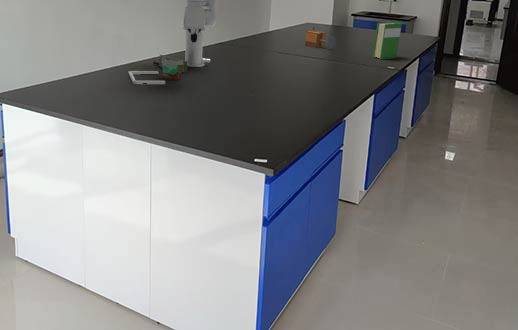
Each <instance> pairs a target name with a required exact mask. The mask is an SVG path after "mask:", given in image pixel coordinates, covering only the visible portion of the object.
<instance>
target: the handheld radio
mask: <svg viewBox="0 0 518 330" xmlns="http://www.w3.org/2000/svg"><path fill="white" fill-rule="evenodd" d="M163 57H165V59H168V60H175V61H182V62H183V65H182V70H181V73H182V72H188V71H187V70H188V66H187V61H185V59H184V60H183V59H181V58H176V57H172V56H168V55H164V54H159V59H158V61H153V62H152V64H153V65H157V66H158V67H159V66H160V67H159V68H163V64H162V63H161V60H162V58H163Z"/></svg>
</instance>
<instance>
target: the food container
mask: <svg viewBox="0 0 518 330" xmlns="http://www.w3.org/2000/svg"><path fill="white" fill-rule="evenodd" d="M161 63H162V64H163V67H162V75H163V79H164V78H165V79H164V80H167V79H168V81H180V80H181V79H182V78H181V77H182V72H181V70H182V65H183V62H182V61H175V60H168V59H165V57H163V58H162V60H161Z"/></svg>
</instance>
